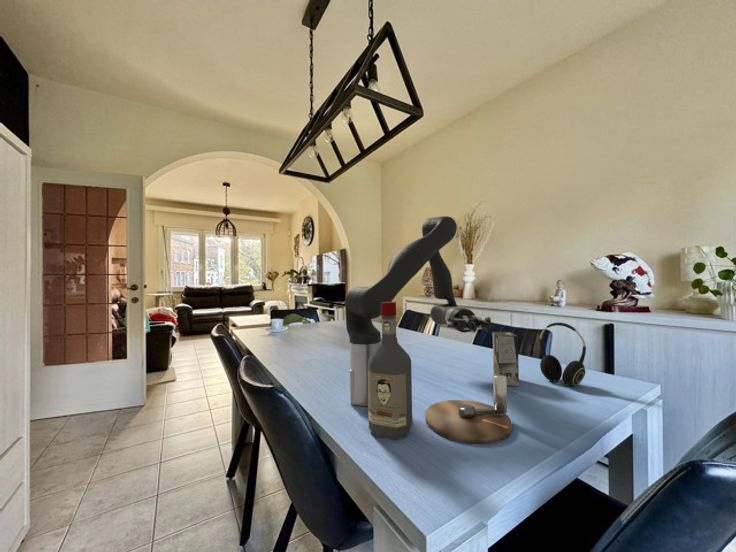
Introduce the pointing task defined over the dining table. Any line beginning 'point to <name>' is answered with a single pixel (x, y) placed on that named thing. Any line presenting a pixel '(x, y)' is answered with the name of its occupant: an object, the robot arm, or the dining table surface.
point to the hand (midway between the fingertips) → (481, 327)
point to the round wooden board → (467, 423)
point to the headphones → (553, 367)
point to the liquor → (389, 382)
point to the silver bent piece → (499, 400)
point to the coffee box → (506, 356)
